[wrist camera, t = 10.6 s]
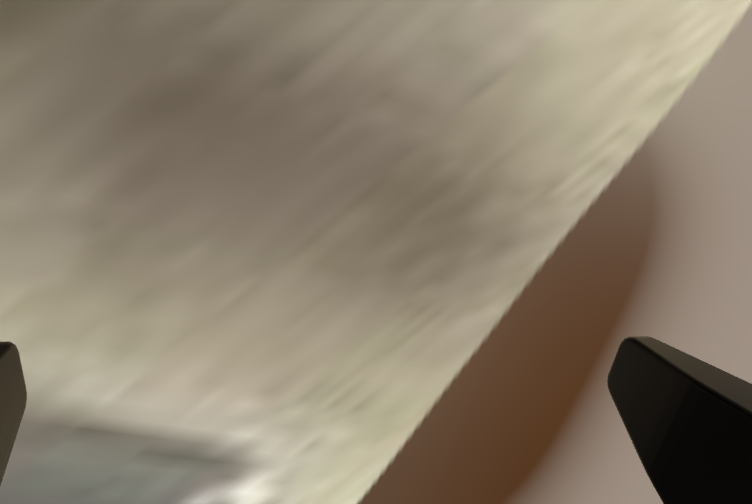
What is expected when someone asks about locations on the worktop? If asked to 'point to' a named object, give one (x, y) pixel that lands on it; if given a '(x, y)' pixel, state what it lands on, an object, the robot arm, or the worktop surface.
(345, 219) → the worktop surface
